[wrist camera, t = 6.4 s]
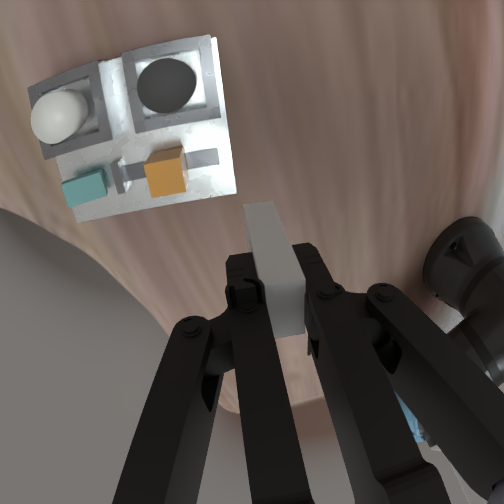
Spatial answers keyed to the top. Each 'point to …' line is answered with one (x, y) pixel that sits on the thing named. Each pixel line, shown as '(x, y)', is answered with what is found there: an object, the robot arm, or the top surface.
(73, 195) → the teal rectangular block
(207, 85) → the panel
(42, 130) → the button
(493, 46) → the top surface
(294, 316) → the robot arm
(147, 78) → the button
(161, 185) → the slider knob
